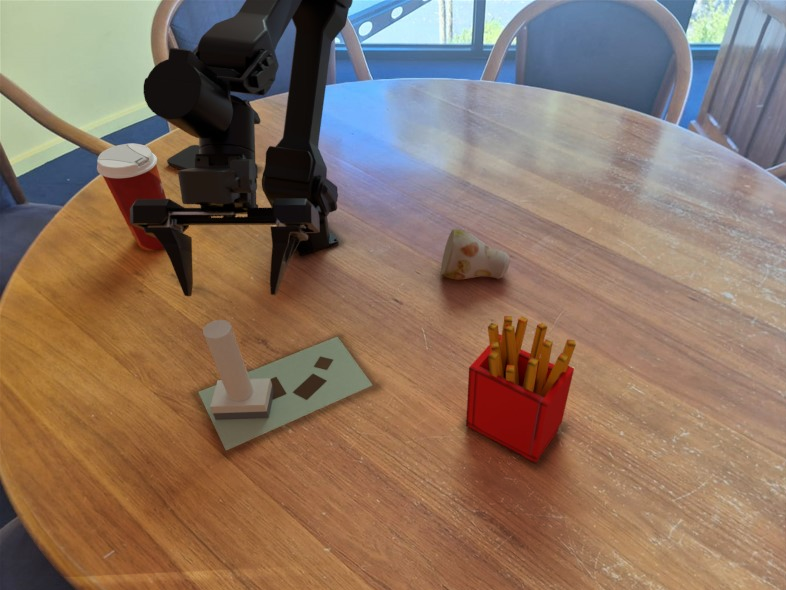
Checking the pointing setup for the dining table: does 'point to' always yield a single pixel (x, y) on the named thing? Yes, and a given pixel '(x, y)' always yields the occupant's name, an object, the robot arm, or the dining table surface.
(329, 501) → the dining table surface
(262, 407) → the white peg on base
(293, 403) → the mat
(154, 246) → the paper cup
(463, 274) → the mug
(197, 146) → the phone
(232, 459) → the dining table surface
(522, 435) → the french fries container
